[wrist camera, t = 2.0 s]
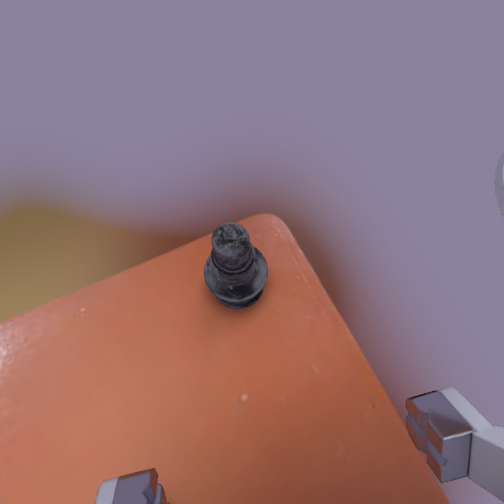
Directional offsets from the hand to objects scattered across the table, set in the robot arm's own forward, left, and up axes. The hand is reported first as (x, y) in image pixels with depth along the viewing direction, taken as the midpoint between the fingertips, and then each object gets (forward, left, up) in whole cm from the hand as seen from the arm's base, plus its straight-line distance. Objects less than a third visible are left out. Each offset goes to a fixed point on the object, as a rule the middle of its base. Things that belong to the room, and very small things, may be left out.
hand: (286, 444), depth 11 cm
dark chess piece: (-3, -12, -21) cm, 24 cm away
